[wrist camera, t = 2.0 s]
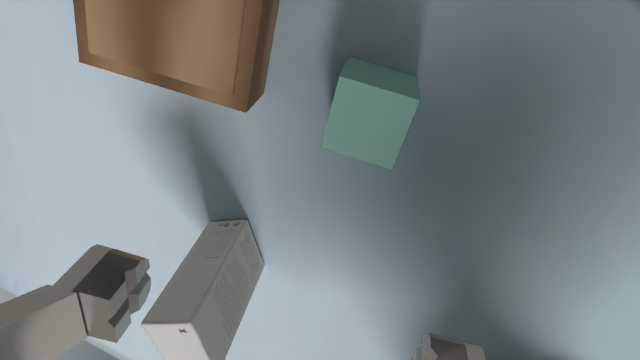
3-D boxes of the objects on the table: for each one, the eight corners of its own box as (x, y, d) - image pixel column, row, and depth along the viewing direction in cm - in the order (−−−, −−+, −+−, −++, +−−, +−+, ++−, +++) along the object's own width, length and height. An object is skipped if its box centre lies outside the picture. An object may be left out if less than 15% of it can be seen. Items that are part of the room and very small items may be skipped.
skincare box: (208, 220, 37) (137, 322, 27) (248, 217, 36) (190, 322, 26) (228, 267, 40) (171, 375, 30) (266, 266, 39) (220, 377, 29)
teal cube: (416, 76, 27) (420, 100, 23) (392, 138, 30) (391, 170, 26) (348, 56, 27) (339, 76, 23) (330, 119, 30) (319, 147, 26)
